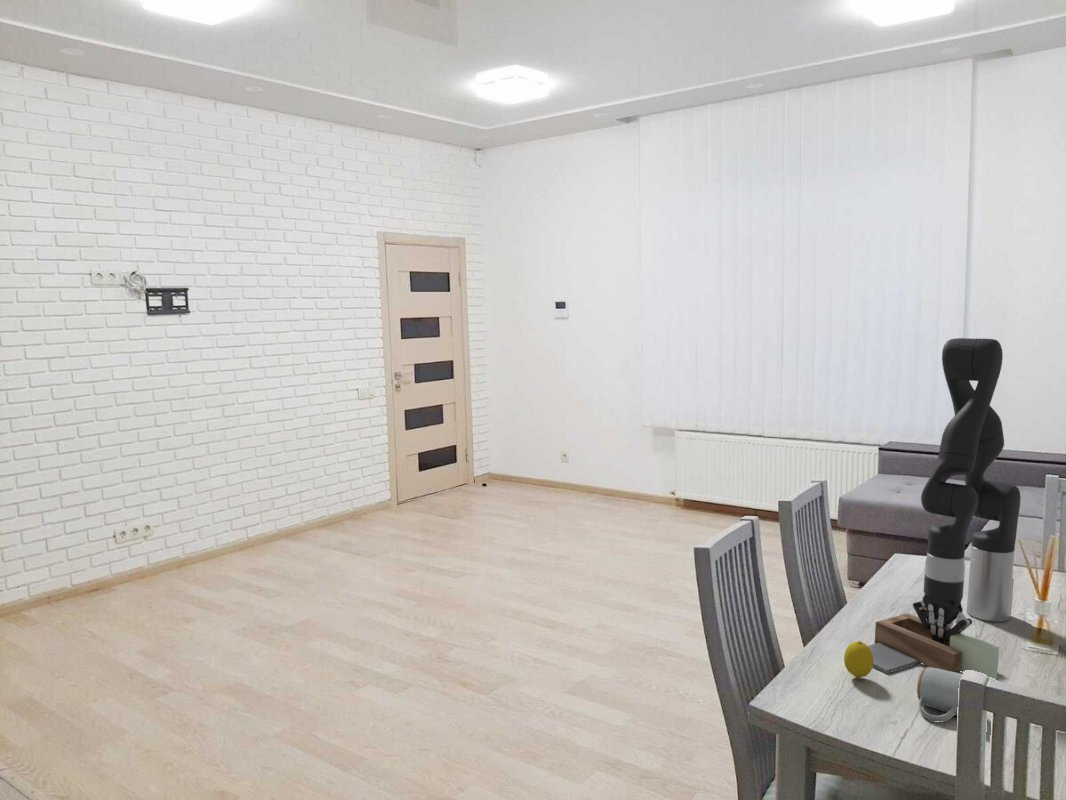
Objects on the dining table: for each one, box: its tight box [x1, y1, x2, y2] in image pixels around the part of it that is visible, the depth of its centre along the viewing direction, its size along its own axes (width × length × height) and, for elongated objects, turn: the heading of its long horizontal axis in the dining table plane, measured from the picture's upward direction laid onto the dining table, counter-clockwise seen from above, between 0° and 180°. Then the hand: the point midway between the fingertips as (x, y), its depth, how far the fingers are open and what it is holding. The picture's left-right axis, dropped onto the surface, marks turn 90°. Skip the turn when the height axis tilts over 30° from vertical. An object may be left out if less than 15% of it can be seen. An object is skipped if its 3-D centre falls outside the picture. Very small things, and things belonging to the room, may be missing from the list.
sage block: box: [950, 631, 1000, 680], centre depth 167 cm, size 4×8×7 cm, turn 28°
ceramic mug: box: [916, 667, 962, 723], centre depth 152 cm, size 11×8×8 cm
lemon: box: [843, 640, 874, 679], centre depth 165 cm, size 6×6×8 cm
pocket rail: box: [874, 612, 962, 674], centre depth 177 cm, size 11×19×5 cm, turn 28°
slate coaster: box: [867, 643, 919, 674], centre depth 174 cm, size 10×10×1 cm
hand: (939, 652), depth 174 cm, fingers closed
